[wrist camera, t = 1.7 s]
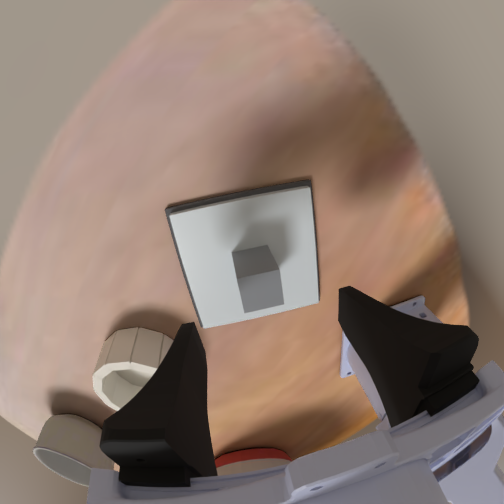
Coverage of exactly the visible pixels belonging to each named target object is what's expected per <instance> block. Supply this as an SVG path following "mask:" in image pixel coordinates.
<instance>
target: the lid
mask: <svg viewBox="0 0 504 504" xmlns="http://www.w3.org/2000/svg"><path fill="white" fill-rule="evenodd" d="M169 217H170V221H171V224H172V228H173V232H174V235H175V239H176V242H177V246H178V249H179V253H180V256H181V259H182V263H183V266H184V269H185V273H186V276H187V279H188V282H189V285H190V289H191V292H192V295H193V298H194V301H195V304H196V307H197V310H198V313H199V316H200V319H201V322H202V325H203V328H210V327H215V326H220V325H225V324H230V323H235V322H239V321H244V320H249V319H253V318H258V317H262V316H267V315H271V314H275V313H280V312H284V311H288V310H292V309H296V308H300V307H304V306H308V305H312V304H316V303H319V299H318V278H317V261H316V246H315V233H314V221H313V210H312V200H311V190H310V187H309V186H302V187H296V188H290V189H284V190H279V191H273V192H268V193H262V194H257V195H252V196H247V197H242V198H237V199H232V200H227V201H222V202H217V203H213V204H208V205H204V206H199V207H195V208H190V209H186V210H182V211H177V212H173V213H170V215H169Z"/></svg>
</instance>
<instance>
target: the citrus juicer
mask: <svg viewBox="0 0 504 504" xmlns="http://www.w3.org/2000/svg"><path fill="white" fill-rule="evenodd" d="M290 462H292V460H291V458H290V457H289V456H288V455H287V454H286V453H285V452H283V451H281V450H277V449H275V448H270V449H266V448H262V449H248V450H242V451H237V452H232V453H229V454H224V455H222V456H221V457H219V458H217V459H216V460H215V465H216V469H217V474H218V476H221V475H229V474H237V473H244V472H250V471H256V470H261V469H267V468H272V467H276V466H281V465H285V464H289V463H290Z"/></svg>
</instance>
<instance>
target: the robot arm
mask: <svg viewBox="0 0 504 504" xmlns="http://www.w3.org/2000/svg"><path fill="white" fill-rule="evenodd" d="M424 303H425V297H424V296H422V295H421V296H418V297H416V298H413V299H410V300H408V301H405V302H402V303H400V304H397V305H394V306H391V307H389V306H387V305H385V304H383V303H381V302H379V301H377V300H375V299H373V298H371V297H370V296H368V295H366V294H364V293H362V292H361V291H359V290H357V289H355V288H353V287H351V286H347V287H343V288H340V289H339V314H338V321H339V323H340V325H341V327H342V329H343V332H342V349H341V363H340V376H341V377H342V378H344V377H347V376H350V375H353V374H355V375H356V377H357V379H358V381H359V383H360V384H361V386H362V388H363V390H364V392H365V393H366V395H367V397H368V399H369V401H370V403H371V405H372V406H373V408H374V410H375V412H376V414H377V416H378V418H379V419H380V421H381V423H380V424H379V425H377V426H376V429H377V431H375V432H371V433H368V434H366V435H363V436H361V437H358V438H355V439H353V440H350V441H347V442H344V443H342V444H339V445H336V446H333V447H330V448H327V449H323V450H320V451H317V452H313V453H310V454H307V455H305V456H302V457H299V458H297V459H295V460H294V461H292V462H290V463H289V464H285V465H281V466H276V467H272V468H267V469H261V470H256V471H250V472H244V473H237V474H229V475H221V476H218V474H217V469H216V465H215V460H214V454H213V449H212V443H211V437H210V430H209V422H208V414H207V362H206V353H205V350H204V347H203V344H202V342H201V339H200V336H199V334H198V331H197V328H196V326H195V323H194V322H191V323H186V324H182V325H181V327H180V329H179V331H178V333H177V335H176V337H175V339H174V341H173V343H172V345H171V346H170V348H169V350H168V352H167V354H166V356H165V357H164V359H163V361H162V362H161V364H160V365H159V367H158V368H157V370H156V371H155V373H154V374H153V376H152V377H151V378H150V380H149V381H148V382H147V383H146V384H145V386H144V387H143V388H142V389H141V390H140V391H139V392H138V393H137V394H136V395H135V396H134V397H133V398H132V399H131V400H130V401H129V402H128V403H127V404H126V405H124V406H123V407H122V408H121V409H120V410H118V411H117V412H116V413H114V414H113V415H112V416H110V417H109V418H107V419H106V420H105V421H104V424H103V428H102V434H101V439H100V445H99V447H100V449H101V451H102V452H103V453H104V454H105V455H106V456H108V457H109V458H110V459H111V460H113V461H114V462H115V463H117V464H118V465H119V466H120V471H119V472H118V471H115V470H109V469H100V468H91V473H90V480H89V489H88V496H87V504H449V503H448V502H451V503H452V504H504V474H503V472H502V471H501V469H500V468H499V466H498V465H497V462H498V459H499V457H500V454H501V452H502V449H503V447H504V416H503V415H502V414H501V413H502V412H503V411H504V372H503V371H502V370H501V369H500V367H499V366H498V365H497V364H496V363H495V362H494V361H493V360H492V361H490V362H489V363H487V364H486V365H485V366H483V367H482V368H481V369H480V370H478V372H477V373H476V374H474V373H473V371H472V370H473V368H474V367H473V365H472V364H471V363H470V361H471V359H472V357H473V355H474V353H475V351H476V349H477V346H478V341H479V338H478V336H477V335H476V334H475V333H474V332H473V331H472V330H471V329H470V328H469V327H468V326H464V325H450V324H443V323H442V322H441V321H440V320H439V319H438V318H437V317H436V316H435V315H434V314H433V313H432V312H431V311H430V310H429V309H428V308H427V307H426V306H425V305H424Z"/></svg>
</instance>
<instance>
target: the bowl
mask: <svg viewBox="0 0 504 504" xmlns="http://www.w3.org/2000/svg"><path fill="white" fill-rule="evenodd" d="M172 343H173V340H172V339H171V338H169V337H168V336H167V335H165V334H164V335H163V333H160V332H156V331H152V330H148V329H145V328H141V327H140V328H138V327H135V328H129V329H122V330H117V331H115V332H114V333H113V334H112V335H111V336H110V337H109V338H108V339H107V340H106V341H105V342H104V344H103V347H102V350H101V353H100V355H99V358H98V361H97V364H96V367H95V370H94V373H93V389H94V391H95V392H96V393H97V395H98V396H99V397H100V398H101V400H102V401H103V402H104V403H105V404H106V405H107V406H109V407H111V408H112V409H114V410H116V411H118V410H120V409H121V408H122V407H123V406H124V405H126V404H127V403H128V402H129V401H130V400H131V399H132V398H133V397H134V396H135V395H136V394H137V393H138V392H139V391H140V390H141V389H142V388H143V387H144V386H145V384H146V383H147V382H148V381H149V380H150V378H151V377H152V376H153V374H154V373H155V371H156V370H157V368H158V367H159V365H160V364H161V362H162V361H163V359H164V357H165V356H166V354H167V352H168V350H169V348H170V346H171V345H172Z"/></svg>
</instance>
